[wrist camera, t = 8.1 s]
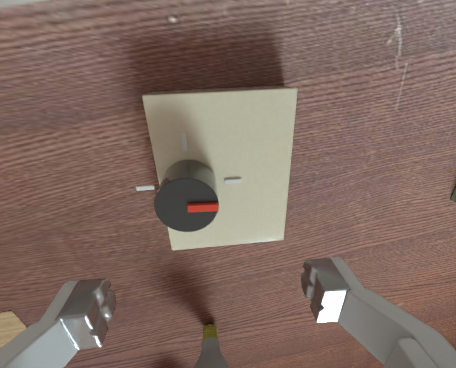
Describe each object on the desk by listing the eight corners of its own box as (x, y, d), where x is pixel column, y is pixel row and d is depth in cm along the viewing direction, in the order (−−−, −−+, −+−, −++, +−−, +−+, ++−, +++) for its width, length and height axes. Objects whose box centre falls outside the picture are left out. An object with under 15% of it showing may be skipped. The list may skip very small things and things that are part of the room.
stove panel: (127, 92, 18) (113, 96, 15) (284, 85, 19) (298, 88, 16) (158, 232, 24) (152, 254, 22) (275, 222, 25) (284, 241, 22)
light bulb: (218, 307, 31) (225, 404, 22) (235, 328, 33) (246, 422, 24) (183, 321, 31) (175, 420, 23) (201, 340, 34) (201, 437, 25)
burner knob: (165, 207, 20) (157, 236, 16) (159, 159, 18) (148, 180, 14) (216, 205, 20) (219, 233, 17) (216, 158, 18) (219, 179, 15)
